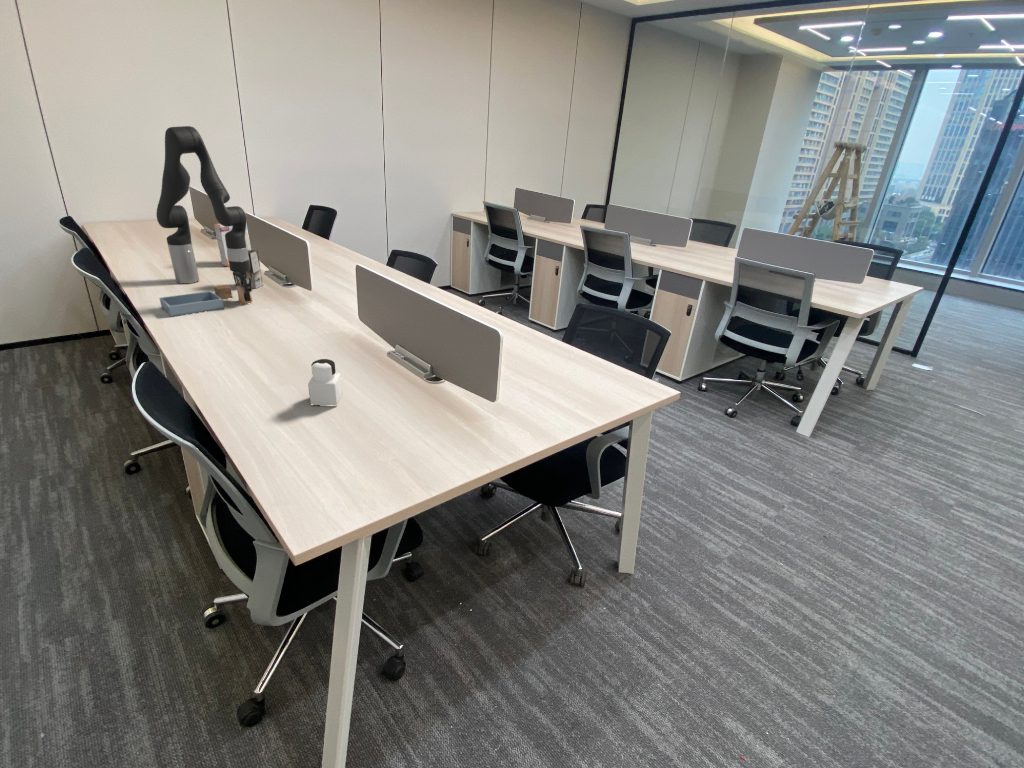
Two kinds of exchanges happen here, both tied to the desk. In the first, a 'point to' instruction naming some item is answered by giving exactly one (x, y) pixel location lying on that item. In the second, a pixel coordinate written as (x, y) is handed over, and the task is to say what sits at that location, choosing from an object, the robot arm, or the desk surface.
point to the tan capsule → (242, 295)
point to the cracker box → (221, 240)
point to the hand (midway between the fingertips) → (245, 299)
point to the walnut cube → (223, 291)
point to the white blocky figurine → (324, 383)
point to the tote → (191, 303)
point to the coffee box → (254, 269)
